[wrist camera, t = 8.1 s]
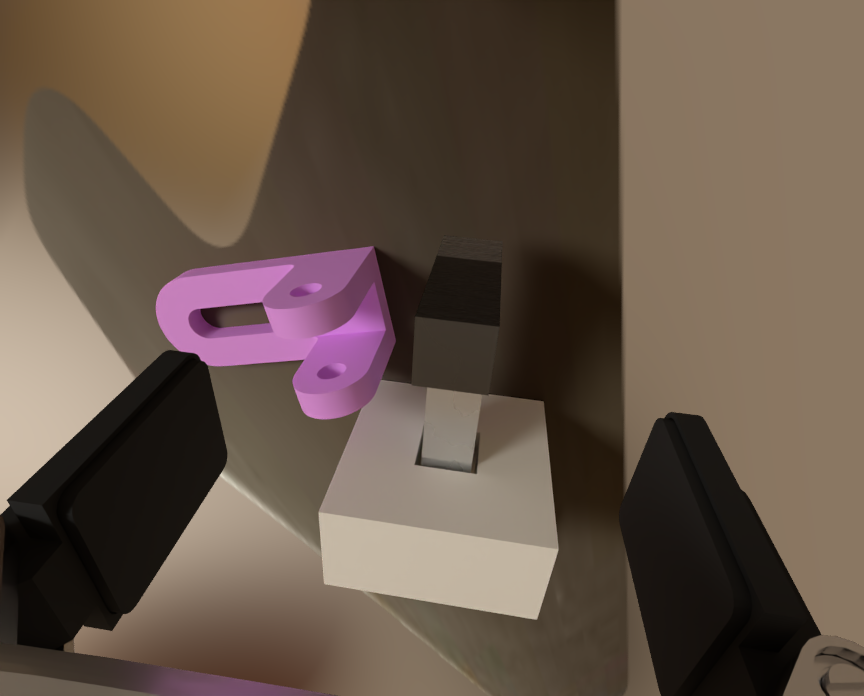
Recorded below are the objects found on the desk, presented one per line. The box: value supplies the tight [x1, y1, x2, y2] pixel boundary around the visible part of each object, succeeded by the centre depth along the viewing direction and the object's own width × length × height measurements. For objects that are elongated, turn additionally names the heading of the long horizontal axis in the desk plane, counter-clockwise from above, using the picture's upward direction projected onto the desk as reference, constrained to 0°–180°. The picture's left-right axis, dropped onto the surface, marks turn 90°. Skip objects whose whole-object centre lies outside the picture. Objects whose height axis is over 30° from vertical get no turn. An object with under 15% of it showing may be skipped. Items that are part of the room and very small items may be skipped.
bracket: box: [156, 246, 396, 419], centre depth 25 cm, size 13×6×7 cm, turn 100°
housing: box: [319, 380, 559, 620], centre depth 26 cm, size 5×10×10 cm, turn 86°
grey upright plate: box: [411, 236, 502, 473], centre depth 20 cm, size 13×2×7 cm, turn 176°
